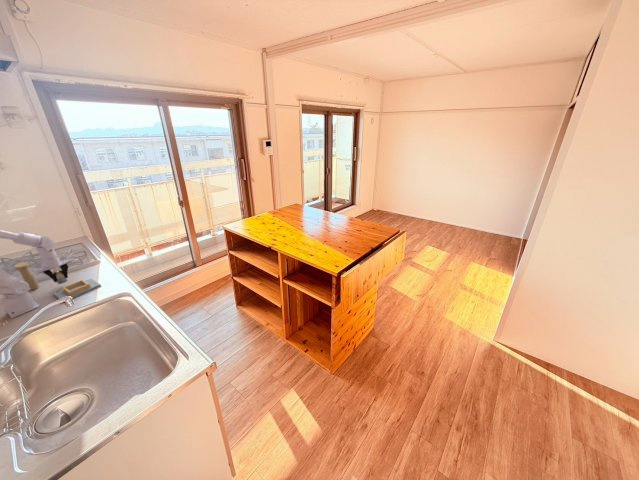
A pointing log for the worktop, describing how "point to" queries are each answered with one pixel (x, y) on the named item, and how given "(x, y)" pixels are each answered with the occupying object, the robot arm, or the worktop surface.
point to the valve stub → (59, 277)
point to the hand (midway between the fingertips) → (61, 279)
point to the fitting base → (77, 288)
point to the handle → (27, 275)
